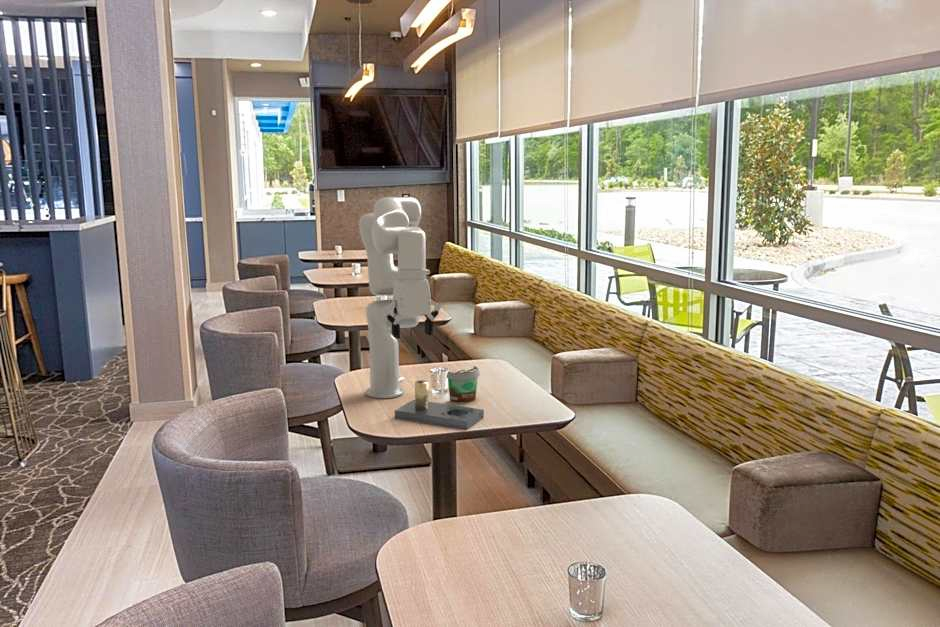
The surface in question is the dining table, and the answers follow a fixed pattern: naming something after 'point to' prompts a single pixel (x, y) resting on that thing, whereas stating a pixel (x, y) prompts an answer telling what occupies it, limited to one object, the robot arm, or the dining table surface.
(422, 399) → the brass sleeve
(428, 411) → the jig plate
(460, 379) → the food container
